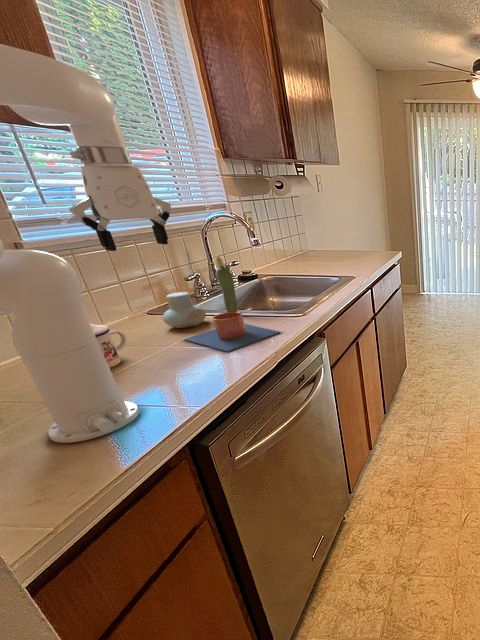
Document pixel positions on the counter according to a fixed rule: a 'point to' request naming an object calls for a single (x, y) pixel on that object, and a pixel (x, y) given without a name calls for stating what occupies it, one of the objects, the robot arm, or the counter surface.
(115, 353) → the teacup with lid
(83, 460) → the counter surface
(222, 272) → the vegetable
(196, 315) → the air freshener
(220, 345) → the mat
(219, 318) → the terracotta flower pot
